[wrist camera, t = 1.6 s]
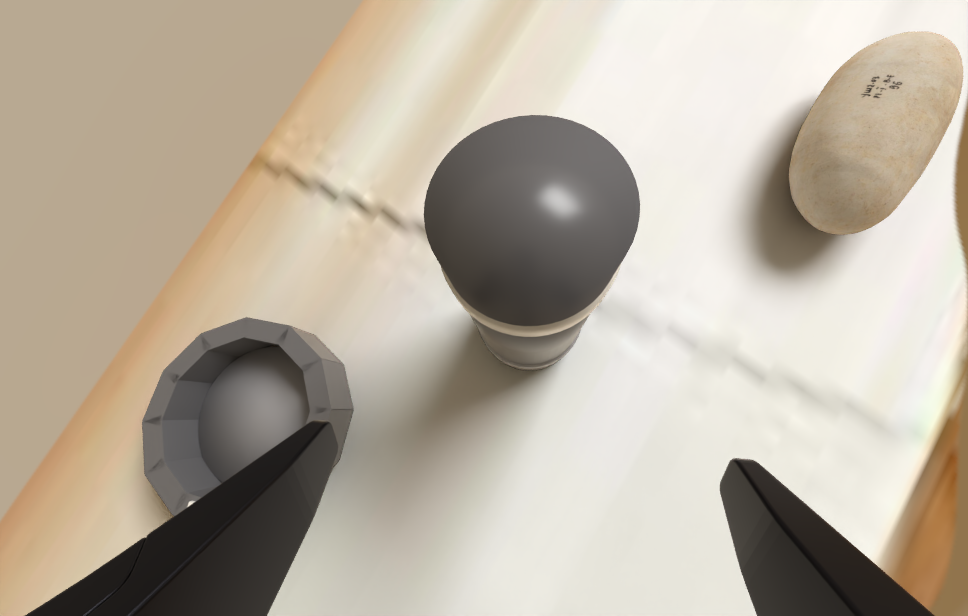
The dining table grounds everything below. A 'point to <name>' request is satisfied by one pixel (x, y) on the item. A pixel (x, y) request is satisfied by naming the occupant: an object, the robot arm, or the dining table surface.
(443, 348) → the dining table surface
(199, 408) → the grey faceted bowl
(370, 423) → the dining table surface
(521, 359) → the dark grey banded cylinder
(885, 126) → the stone
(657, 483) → the dining table surface
